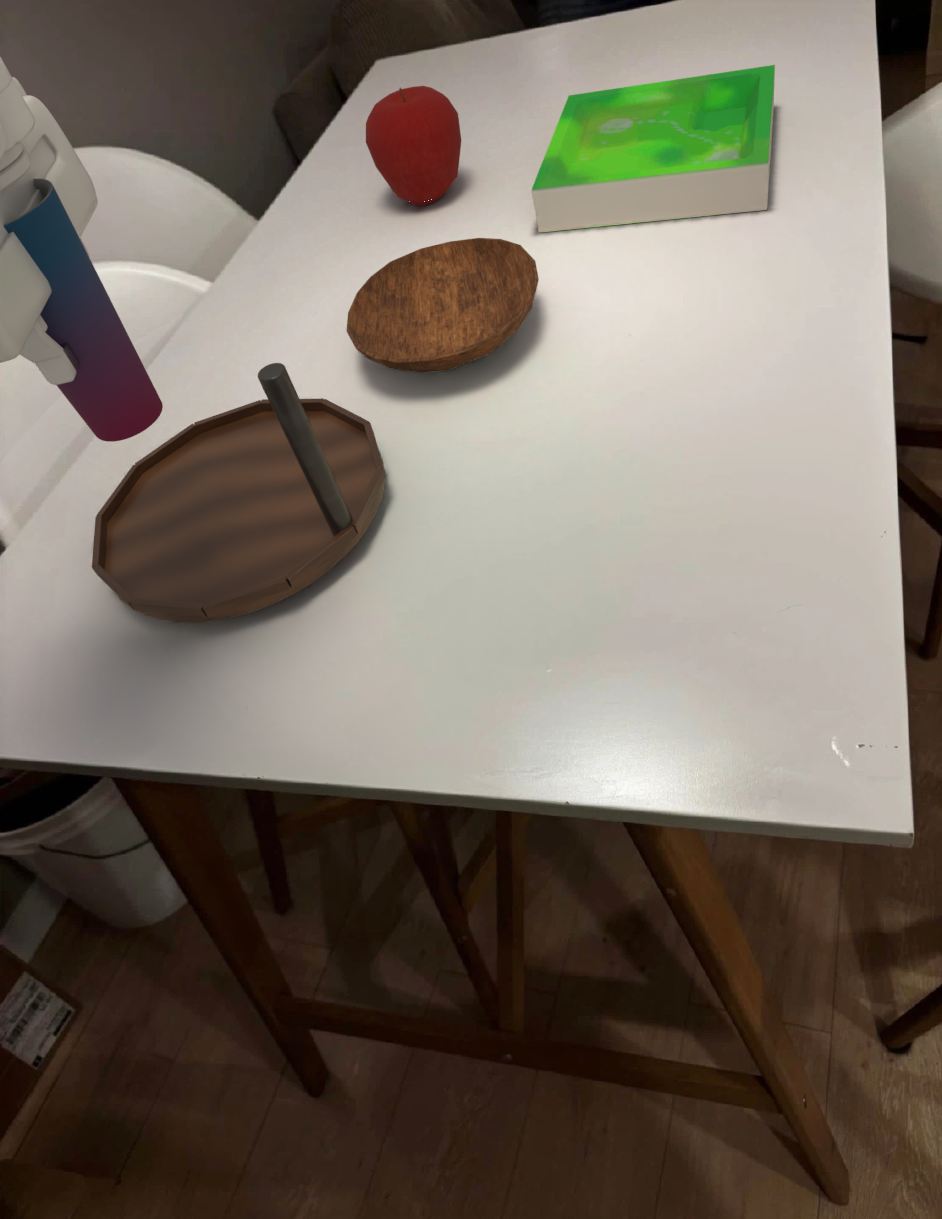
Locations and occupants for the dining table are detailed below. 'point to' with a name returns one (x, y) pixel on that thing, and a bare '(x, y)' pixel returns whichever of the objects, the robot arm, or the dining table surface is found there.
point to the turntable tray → (240, 507)
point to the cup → (86, 325)
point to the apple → (415, 143)
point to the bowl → (443, 304)
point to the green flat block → (659, 152)
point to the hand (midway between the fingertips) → (81, 345)
